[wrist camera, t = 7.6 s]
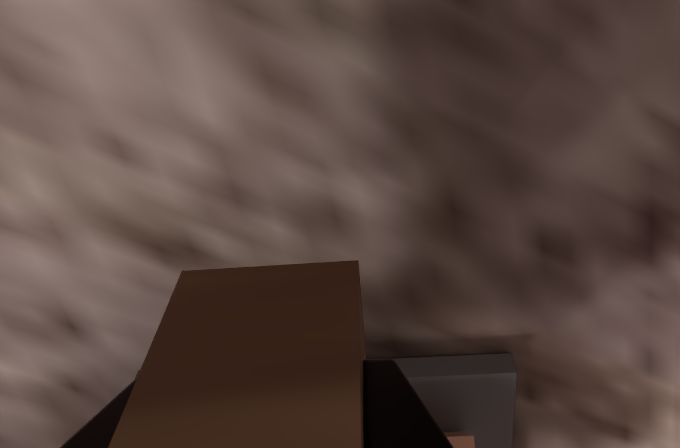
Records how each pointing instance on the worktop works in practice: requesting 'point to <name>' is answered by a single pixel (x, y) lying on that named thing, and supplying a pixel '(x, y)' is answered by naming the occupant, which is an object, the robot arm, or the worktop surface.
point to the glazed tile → (460, 439)
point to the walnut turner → (254, 362)
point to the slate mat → (467, 394)
